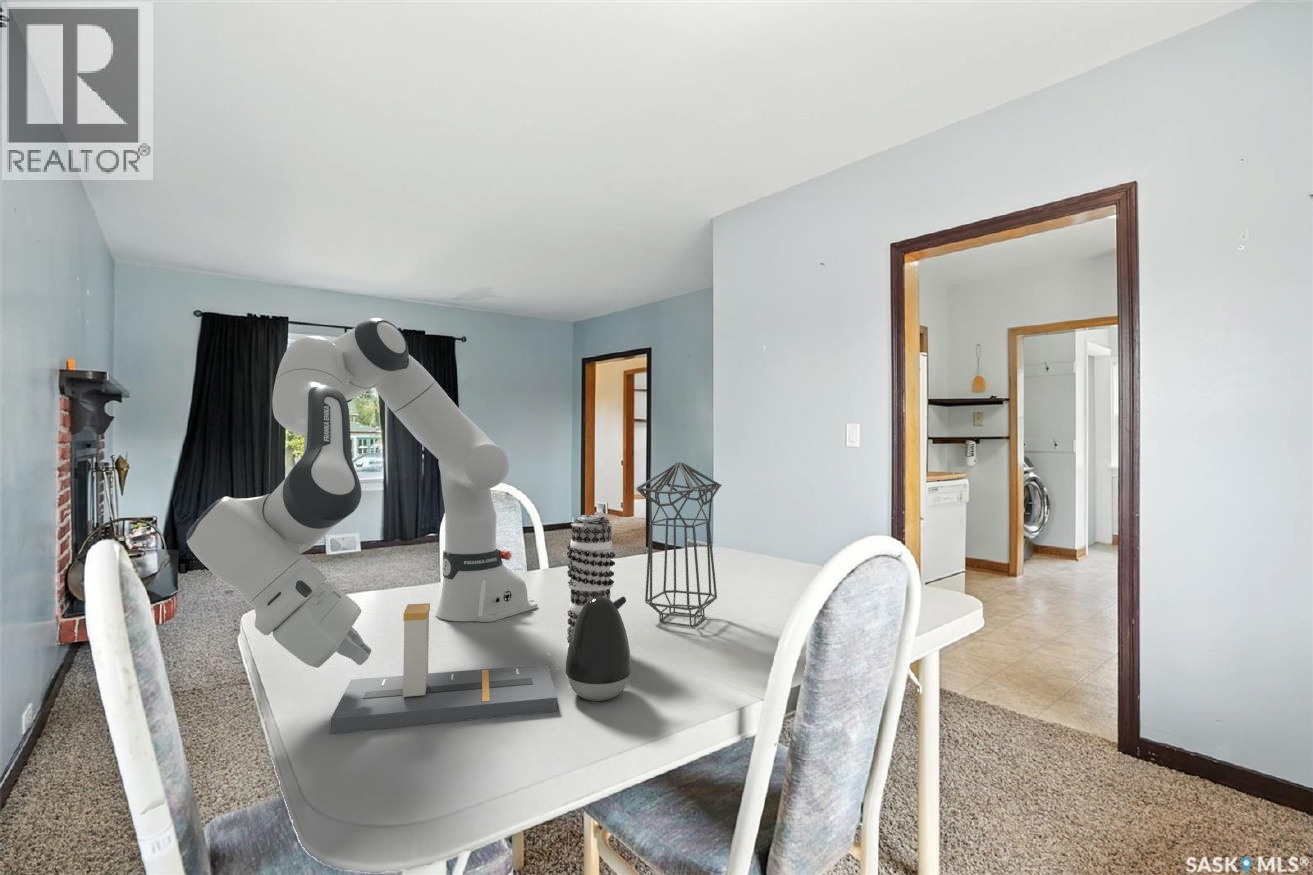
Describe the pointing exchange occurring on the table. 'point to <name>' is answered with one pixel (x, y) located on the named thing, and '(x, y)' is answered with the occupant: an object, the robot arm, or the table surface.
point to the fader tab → (416, 649)
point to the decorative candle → (589, 563)
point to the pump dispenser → (599, 651)
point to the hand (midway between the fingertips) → (366, 658)
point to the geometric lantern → (667, 478)
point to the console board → (445, 698)
